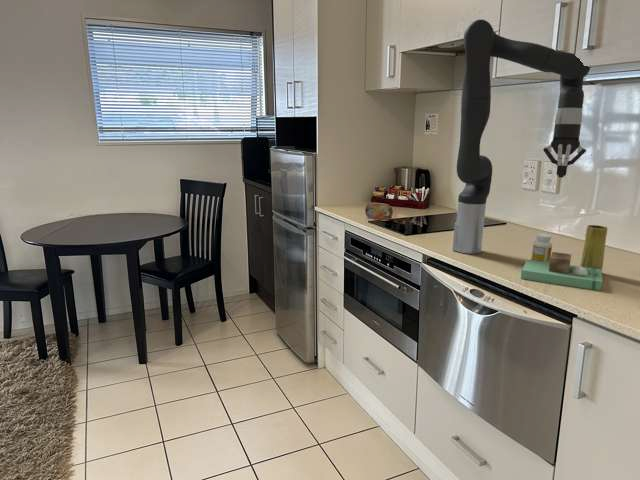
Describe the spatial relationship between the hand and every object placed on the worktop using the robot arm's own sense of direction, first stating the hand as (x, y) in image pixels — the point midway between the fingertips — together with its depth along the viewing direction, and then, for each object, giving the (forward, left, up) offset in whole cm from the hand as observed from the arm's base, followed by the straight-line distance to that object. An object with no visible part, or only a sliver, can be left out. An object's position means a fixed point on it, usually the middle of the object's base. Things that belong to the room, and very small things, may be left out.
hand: (560, 177), depth 155 cm
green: (+4, -26, -27) cm, 38 cm away
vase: (+12, -15, -27) cm, 33 cm away
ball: (+9, -26, -25) cm, 37 cm away
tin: (-75, +29, -27) cm, 85 cm away
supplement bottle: (-2, -14, -27) cm, 31 cm away
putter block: (+4, -26, -24) cm, 36 cm away
